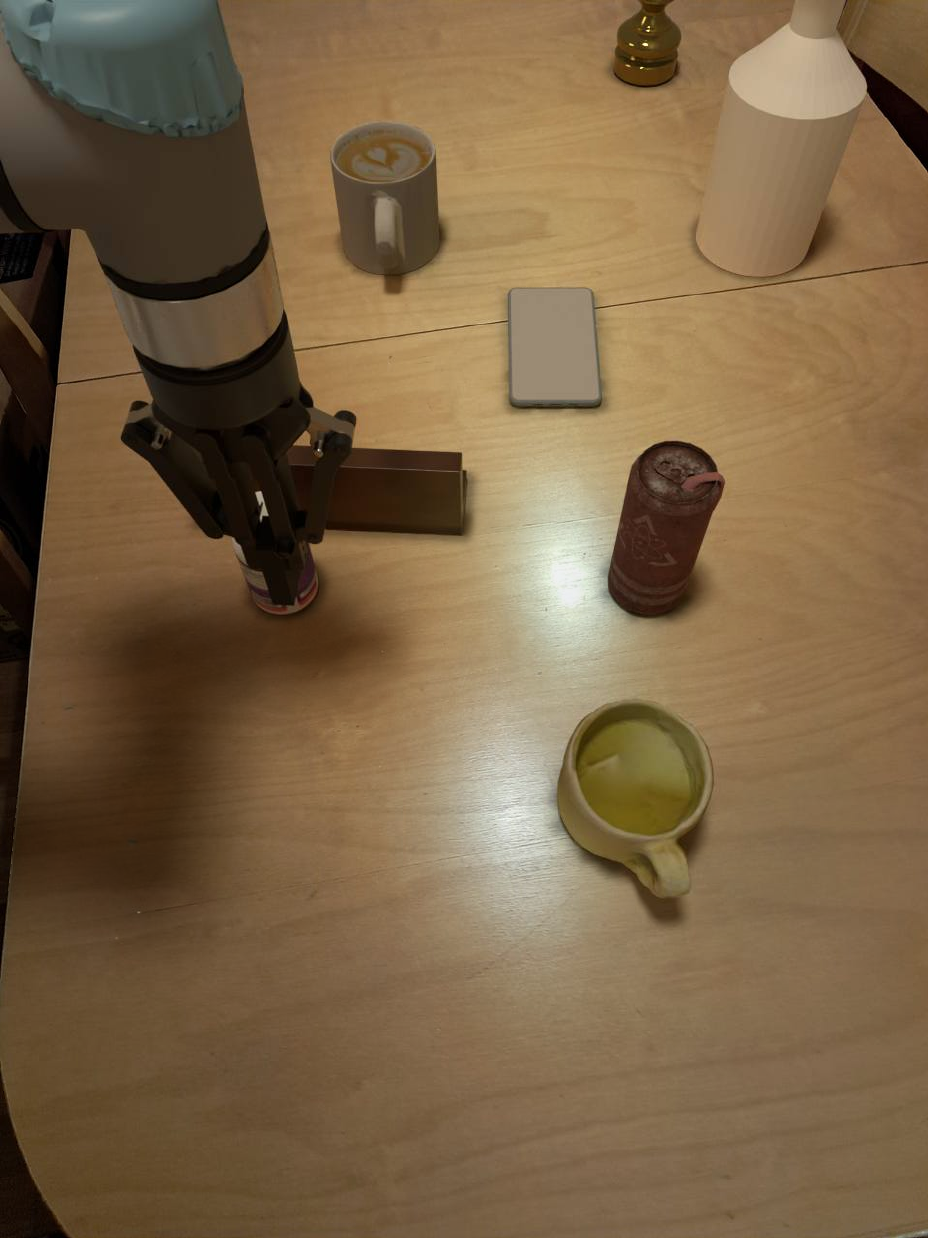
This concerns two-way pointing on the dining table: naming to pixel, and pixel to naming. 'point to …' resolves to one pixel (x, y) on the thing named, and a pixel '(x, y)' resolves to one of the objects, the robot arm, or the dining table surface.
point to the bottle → (780, 144)
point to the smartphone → (553, 347)
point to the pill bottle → (258, 584)
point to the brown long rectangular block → (387, 490)
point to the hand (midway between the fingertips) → (286, 588)
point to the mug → (636, 789)
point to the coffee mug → (386, 196)
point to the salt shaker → (647, 45)
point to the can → (663, 525)
